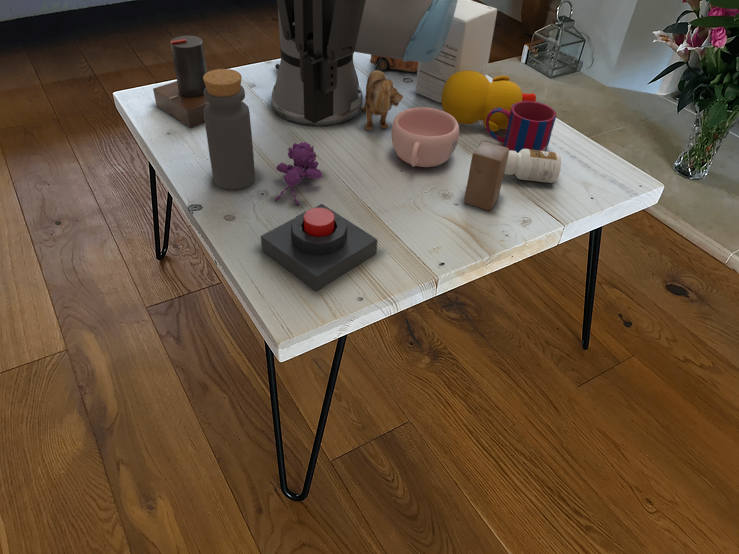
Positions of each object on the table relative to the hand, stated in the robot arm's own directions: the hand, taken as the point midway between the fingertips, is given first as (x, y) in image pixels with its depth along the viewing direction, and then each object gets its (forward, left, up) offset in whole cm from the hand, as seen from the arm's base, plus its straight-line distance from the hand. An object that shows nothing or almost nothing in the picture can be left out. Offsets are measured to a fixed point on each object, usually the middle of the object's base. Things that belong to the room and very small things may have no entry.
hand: (318, 116), depth 63 cm
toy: (+1, +46, -15) cm, 49 cm away
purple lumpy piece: (-12, +7, -18) cm, 23 cm away
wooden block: (+7, +24, -18) cm, 31 cm away
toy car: (-30, +48, -18) cm, 60 cm away
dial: (-41, +10, -15) cm, 45 cm away
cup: (+2, +39, -18) cm, 43 cm away
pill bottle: (+11, +36, -16) cm, 41 cm away
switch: (0, 0, -14) cm, 14 cm away
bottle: (-20, +2, -18) cm, 27 cm away
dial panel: (-41, +10, -18) cm, 46 cm away
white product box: (-17, +46, -18) cm, 53 cm away
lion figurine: (-19, +30, -18) cm, 40 cm away
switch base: (0, 0, -18) cm, 18 cm away
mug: (-5, +26, -18) cm, 32 cm away
